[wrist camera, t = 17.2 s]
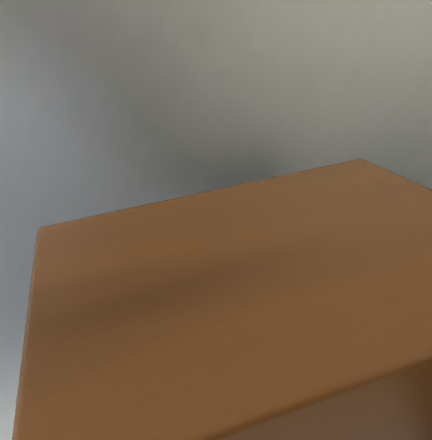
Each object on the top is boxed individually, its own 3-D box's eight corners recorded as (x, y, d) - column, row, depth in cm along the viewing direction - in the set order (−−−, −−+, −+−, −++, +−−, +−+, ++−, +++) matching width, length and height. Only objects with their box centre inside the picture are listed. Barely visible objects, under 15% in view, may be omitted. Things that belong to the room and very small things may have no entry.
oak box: (344, 392, 11) (498, 592, 7) (117, 477, 9) (155, 790, 6) (360, 157, 8) (638, 277, 4) (35, 225, 7) (-3, 514, 3)
